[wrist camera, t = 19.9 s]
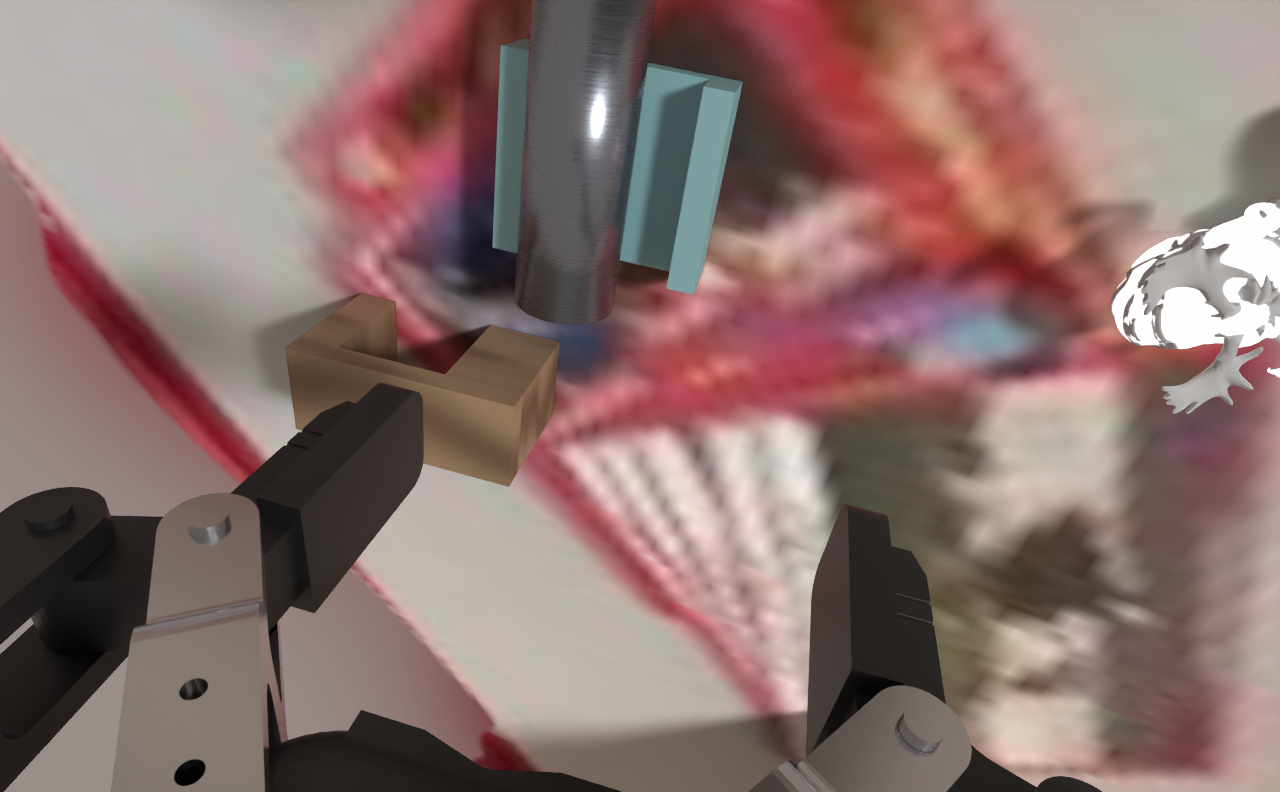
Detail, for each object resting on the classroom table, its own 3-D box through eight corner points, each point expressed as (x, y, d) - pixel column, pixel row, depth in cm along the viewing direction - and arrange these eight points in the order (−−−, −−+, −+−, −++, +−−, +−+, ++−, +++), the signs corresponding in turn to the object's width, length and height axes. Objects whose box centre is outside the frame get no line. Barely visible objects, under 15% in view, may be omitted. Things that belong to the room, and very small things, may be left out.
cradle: (702, 271, 37) (693, 294, 34) (514, 228, 38) (492, 247, 35) (743, 81, 32) (735, 92, 29) (526, 38, 33) (500, 45, 30)
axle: (632, 306, 36) (566, 335, 33) (562, 271, 38) (493, 295, 35) (683, -14, 29) (603, -20, 25) (591, -35, 31) (507, -43, 27)
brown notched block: (552, 414, 43) (508, 486, 38) (366, 366, 45) (296, 429, 39) (559, 342, 41) (514, 407, 35) (361, 293, 42) (285, 348, 36)
